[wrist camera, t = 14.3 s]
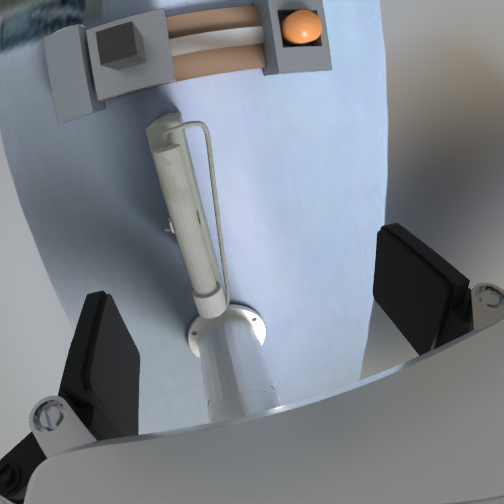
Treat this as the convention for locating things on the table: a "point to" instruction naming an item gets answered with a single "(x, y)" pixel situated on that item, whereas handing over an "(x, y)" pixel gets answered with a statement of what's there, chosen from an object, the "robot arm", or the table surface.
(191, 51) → the rail base
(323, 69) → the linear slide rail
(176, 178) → the geiger counter
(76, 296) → the table surface
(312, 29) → the button
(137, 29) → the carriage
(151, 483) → the robot arm
